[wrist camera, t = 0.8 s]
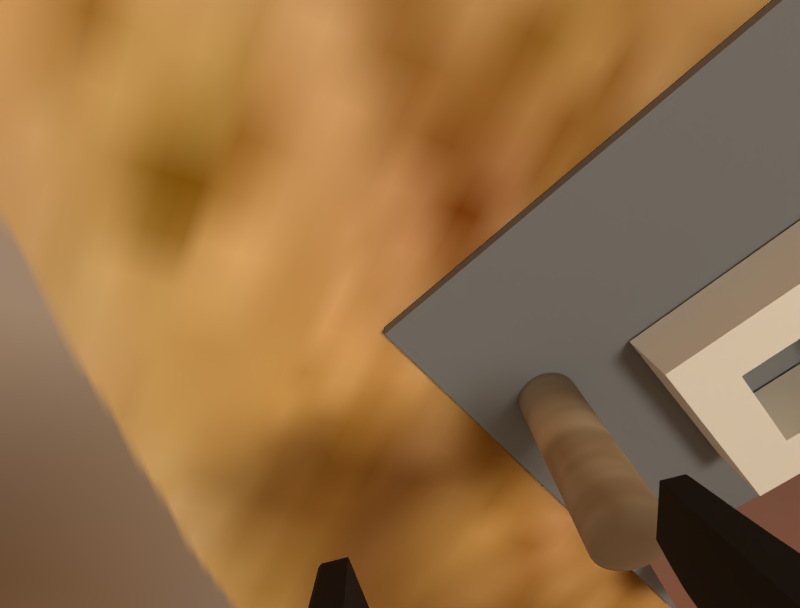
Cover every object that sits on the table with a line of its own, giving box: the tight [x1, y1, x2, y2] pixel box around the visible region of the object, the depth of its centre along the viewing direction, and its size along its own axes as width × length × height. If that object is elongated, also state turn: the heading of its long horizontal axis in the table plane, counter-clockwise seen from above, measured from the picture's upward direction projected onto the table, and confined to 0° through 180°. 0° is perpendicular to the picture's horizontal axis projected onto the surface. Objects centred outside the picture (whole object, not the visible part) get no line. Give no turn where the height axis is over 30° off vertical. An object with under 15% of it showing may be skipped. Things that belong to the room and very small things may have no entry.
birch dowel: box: [519, 373, 664, 571], centre depth 16 cm, size 2×2×7 cm
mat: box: [384, 0, 800, 608], centre depth 19 cm, size 24×22×1 cm
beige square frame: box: [630, 221, 800, 496], centre depth 17 cm, size 8×8×2 cm
